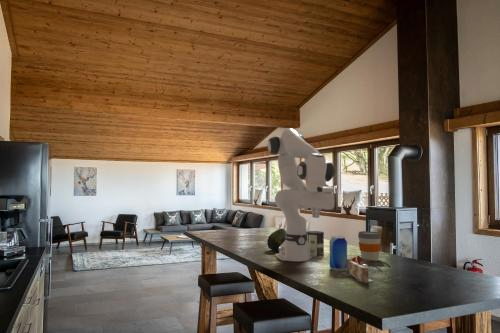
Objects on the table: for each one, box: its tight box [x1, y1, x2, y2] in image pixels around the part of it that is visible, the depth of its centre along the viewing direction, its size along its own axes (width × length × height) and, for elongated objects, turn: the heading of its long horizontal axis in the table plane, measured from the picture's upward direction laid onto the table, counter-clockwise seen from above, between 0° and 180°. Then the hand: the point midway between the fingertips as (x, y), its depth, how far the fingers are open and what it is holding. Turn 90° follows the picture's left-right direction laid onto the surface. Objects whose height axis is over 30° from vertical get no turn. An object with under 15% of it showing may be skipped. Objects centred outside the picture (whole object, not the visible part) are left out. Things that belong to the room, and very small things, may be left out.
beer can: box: [329, 235, 348, 272], centre depth 188 cm, size 8×8×16 cm
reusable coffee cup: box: [357, 230, 382, 262], centre depth 214 cm, size 13×13×15 cm
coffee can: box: [306, 230, 325, 259], centre depth 223 cm, size 10×10×14 cm
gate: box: [345, 258, 370, 283], centre depth 169 cm, size 20×3×6 cm, turn 7°
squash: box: [266, 228, 287, 253], centre depth 239 cm, size 14×15×15 cm
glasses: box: [351, 254, 391, 273], centre depth 194 cm, size 14×16×5 cm
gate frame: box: [340, 263, 374, 284], centre depth 172 cm, size 18×6×7 cm, turn 22°
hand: (315, 217), depth 178 cm, fingers closed
